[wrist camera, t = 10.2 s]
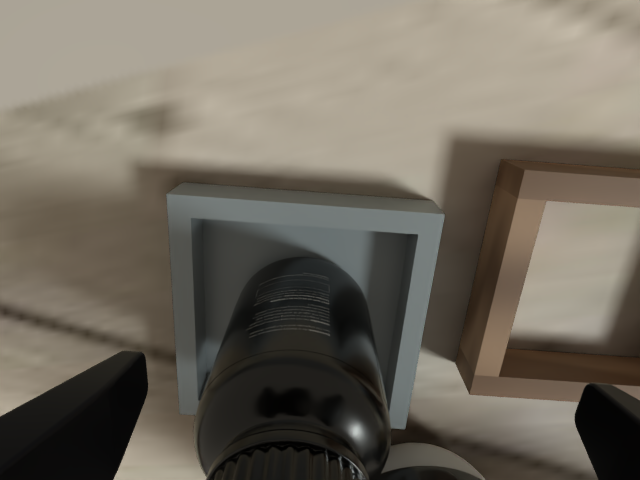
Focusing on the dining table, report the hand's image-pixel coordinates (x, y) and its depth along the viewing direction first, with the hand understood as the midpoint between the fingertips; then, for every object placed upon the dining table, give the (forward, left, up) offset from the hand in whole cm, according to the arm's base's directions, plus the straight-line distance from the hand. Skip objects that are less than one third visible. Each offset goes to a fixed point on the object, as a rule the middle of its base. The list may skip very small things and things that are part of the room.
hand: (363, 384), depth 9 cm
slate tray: (-5, +2, -13) cm, 14 cm away
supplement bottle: (-6, +2, -13) cm, 14 cm away
